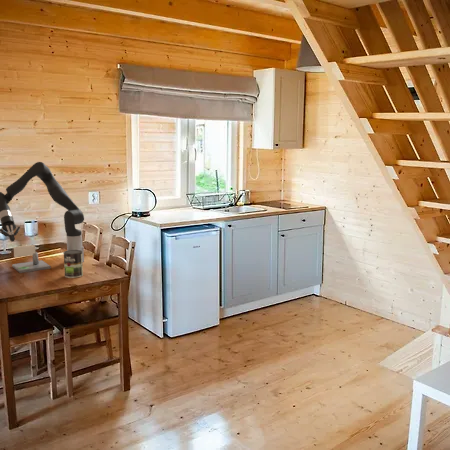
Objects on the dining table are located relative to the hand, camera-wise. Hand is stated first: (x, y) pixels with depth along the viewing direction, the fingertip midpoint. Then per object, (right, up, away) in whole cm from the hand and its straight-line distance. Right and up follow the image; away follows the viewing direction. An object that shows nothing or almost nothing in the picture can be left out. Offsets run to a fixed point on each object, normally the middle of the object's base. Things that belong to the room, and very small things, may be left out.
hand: (12, 240), depth 317 cm
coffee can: (+45, -20, -24) cm, 54 cm away
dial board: (+14, -16, -6) cm, 22 cm away
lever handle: (+11, -14, -6) cm, 19 cm away
